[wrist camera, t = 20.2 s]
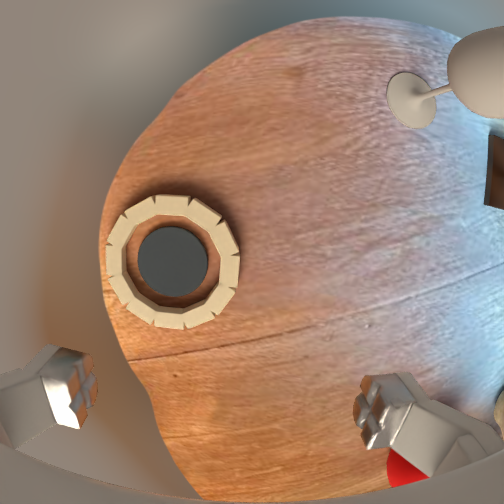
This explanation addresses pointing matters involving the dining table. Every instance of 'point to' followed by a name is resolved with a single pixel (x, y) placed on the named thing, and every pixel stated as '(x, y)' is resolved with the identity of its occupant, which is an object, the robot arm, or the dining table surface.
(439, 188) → the dining table surface
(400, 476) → the tomato
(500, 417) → the bowl
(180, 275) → the coaster
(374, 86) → the dining table surface
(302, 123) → the dining table surface
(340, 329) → the dining table surface
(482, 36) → the wineglass
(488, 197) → the rack
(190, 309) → the hoop
